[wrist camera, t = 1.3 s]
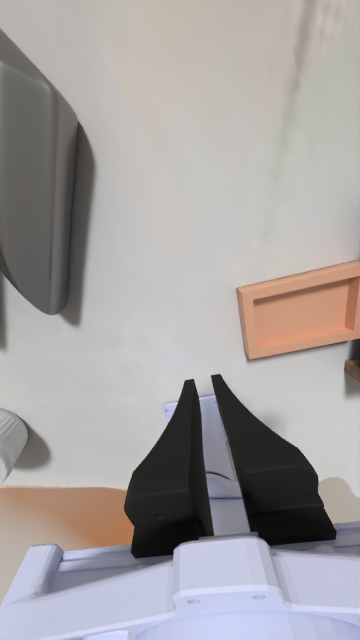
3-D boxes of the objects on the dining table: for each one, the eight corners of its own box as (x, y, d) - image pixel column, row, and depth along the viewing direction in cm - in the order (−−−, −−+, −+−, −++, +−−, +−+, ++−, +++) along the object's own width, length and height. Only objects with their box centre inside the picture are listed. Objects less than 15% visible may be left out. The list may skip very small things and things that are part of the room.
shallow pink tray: (347, 329, 22) (362, 337, 20) (244, 350, 23) (249, 359, 21) (354, 260, 19) (373, 262, 17) (236, 288, 20) (241, 292, 18)
